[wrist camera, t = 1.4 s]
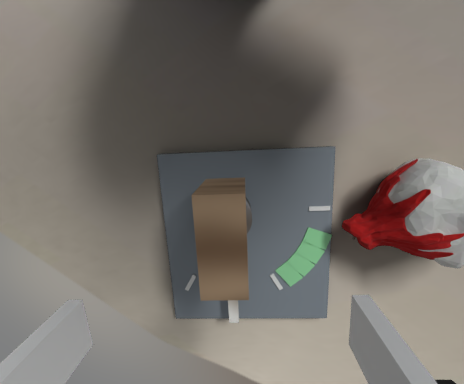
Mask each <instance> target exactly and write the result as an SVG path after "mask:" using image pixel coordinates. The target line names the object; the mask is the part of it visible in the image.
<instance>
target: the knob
mask: <svg viewBox="0 0 464 384" xmlns="http://www.w3.org/2000/svg"><path fill="white" fill-rule="evenodd" d="M192 207H193V218H194V230H195V241H196V253H197V264H198V275H199V287H200V298H201V301H211V300H228V310H229V323H239V310H238V300H249V282H248V249H247V233H248V232H249V230H250V228H251V225H252V212H251V205H250V203H249V201H248V199H247V198H246V192H245V177H244V178H217V179H206V180H205V181H204V182H203V183H202V184H201V185H200V186H199V187H198V189H197V190H196V191H195V192H194V193H193V194H192Z"/></svg>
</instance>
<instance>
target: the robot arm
mask: <svg viewBox="0 0 464 384" xmlns="http://www.w3.org/2000/svg"><path fill="white" fill-rule="evenodd" d="M349 345H350V347H351V349H352V351H353V353H354V355H355V357H356V359H357V361H358V363H359V365H360V368H361V370H362V372H363V374H364V376H365V378H366V380H367V382H368V384H456V383H455V382H453V381H452V380H434V378H433V377H432V376H431V374H430V373H429V372H428V371H427V369H426V368H425V367H424V365H423V364H422V363H421V361H420V360H419V359H418V358H417V356H416V355H415V354H414V352H413V351H412V350H411V349H410V347H409V346H408V345H407V343H406V342H405V341H404V340H403V338H402V337H401V336H400V334H399V333H398V332H397V330H396V329H395V328H394V327H393V325H392V324H391V323H390V321H389V320H388V319H387V318H386V316H385V315H384V314H383V312H382V311H381V310H380V308H379V307H378V306H377V305H376V303H375V302H374V301H373V299H372V298H371V297H370V296H369V295H352V303H351V318H350V334H349ZM92 346H93V342H92V338H91V333H90V329H89V325H88V321H87V316H86V312H85V308H84V304H83V300H67V301H66V302H65V303H64V304H63V305H62V306H61V307H60V308H59V309H58V310H57V311H56V312H55V313H54V314H52V315H51V316H50V317H49V318H48V319H47V320H46V321H45V322H44V323H43V324H42V325H41V326H40V327H39V328H37V329H36V331H34V332H33V333H32V334H31V335H30V336H29V337H28V338H27V339H26V340H25V341H23V342H22V344H20V345H19V346H18V347H17V348H16V349H15V350H14V351H13V352H12V353H11V354H10V355H9V356H7V357H6V359H4V360H3V361H2V362H1V363H0V384H65V383H66V382H67V380H68V379H69V378H70V376H71V375H72V374H73V372H74V371H75V369H76V368H77V367H78V365H79V364H80V362H81V361H82V360H83V358H84V357H85V356H86V354H87V353H88V351H89V350H90V349H91V347H92Z"/></svg>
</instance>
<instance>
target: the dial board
mask: <svg viewBox="0 0 464 384" xmlns="http://www.w3.org/2000/svg"><path fill="white" fill-rule="evenodd" d="M157 160H158V169H159V177H160V186H161V194H162V203H163V212H164V220H165V229H166V237H167V246H168V254H169V263H170V272H171V280H172V289H173V297H174V306H175V314H176V318H229V310H228V300H211V301H201V298H200V287H199V275H198V264H197V253H196V241H195V230H194V218H193V207H192V194H193V193H194V192H195V191H196V190H197V189H198V187H199V186H200V185H201V184H202V183H203V182H204V181H205V180H206V179H217V178H244V177H245V192H246V198H247V199H248V201H249V203H250V205H251V212H252V225H251V228H250V230H249V232H248V233H247V249H248V282H249V300H238V310H239V318H327V305H328V285H329V265H330V245H331V237H332V235H331V225H332V205H333V185H334V165H335V147H333V146H326V147H304V148H281V149H259V150H237V151H214V152H192V153H169V154H158V155H157Z"/></svg>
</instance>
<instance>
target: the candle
mask: <svg viewBox="0 0 464 384" xmlns="http://www.w3.org/2000/svg"><path fill="white" fill-rule="evenodd" d="M342 228H343V229H344V230H345V231H347V232H349V233H350V234H352V235H353V236H354V237H353V239H355V237H357V240H358V242H359V244H360V245H361V246H363V247H364V248H366V249H368V250H371V249H373V248H374V247H377V246H384V245H385V246H393V247H396V248H398V249H400V250H402V251H405V252H408V253H410V254H412V255H415V256H419V257H423V258H427V259H431V260H435V261H436V262H438V263H439V264H440V265H443V266H446V267H452V268H461V267H462V266H464V170H463V169H461V168H460V167H456V166H453V165H450V164H448V163H446V162H441V161H437V160H433V159H414V160H411V161H408V162H405V163H403V164H402V165H400V166H399V167H398V168H397V169H395V170H394V171H393V172H392V173H391V174H390V175H389V176H387V177H386V178H385V179H384V180H383V181H382V182H381V184H380V185H379V187H378V189H377V191H376V194H375V195H374V196H373V197H372V199H371V200H370V202H369V205H368V208H367V210H365V211H364V212H363V213H362V214H358V213H357V214H355V215H354V216H353V217H351V218H350V219H347V220H344V221H343V223H342Z"/></svg>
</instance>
